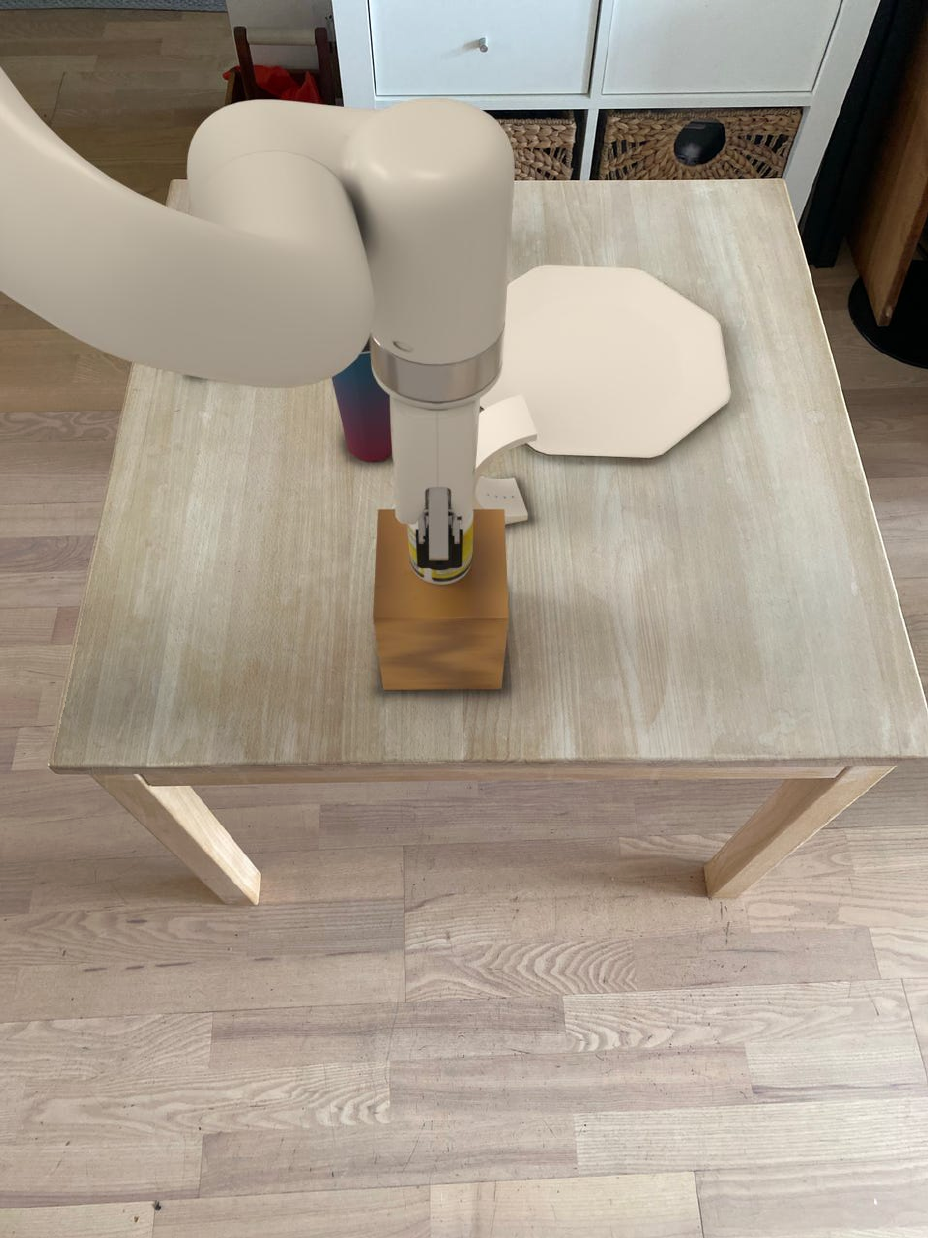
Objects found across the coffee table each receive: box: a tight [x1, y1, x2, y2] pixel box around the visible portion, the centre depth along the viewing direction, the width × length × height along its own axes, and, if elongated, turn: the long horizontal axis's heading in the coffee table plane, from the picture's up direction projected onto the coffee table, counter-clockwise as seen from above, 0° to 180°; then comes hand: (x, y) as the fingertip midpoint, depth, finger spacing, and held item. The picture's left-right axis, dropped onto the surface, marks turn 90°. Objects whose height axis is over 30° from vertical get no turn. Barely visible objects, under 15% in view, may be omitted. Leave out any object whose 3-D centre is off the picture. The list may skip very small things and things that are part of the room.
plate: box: [480, 264, 732, 460], centre depth 97 cm, size 28×28×2 cm
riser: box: [372, 508, 510, 691], centre depth 76 cm, size 10×10×12 cm
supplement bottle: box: [407, 507, 474, 585], centre depth 67 cm, size 5×5×8 cm
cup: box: [330, 338, 392, 463], centre depth 86 cm, size 7×7×15 cm
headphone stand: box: [472, 395, 537, 525], centre depth 83 cm, size 5×6×12 cm
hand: (439, 531), depth 67 cm, fingers closed on supplement bottle, 4 cm apart
